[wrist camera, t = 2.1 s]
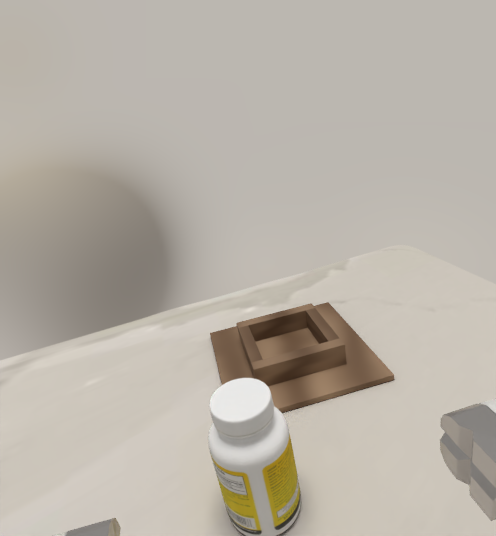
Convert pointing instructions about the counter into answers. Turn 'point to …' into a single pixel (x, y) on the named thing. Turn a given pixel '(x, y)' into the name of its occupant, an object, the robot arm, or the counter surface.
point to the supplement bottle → (253, 458)
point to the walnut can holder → (299, 356)
